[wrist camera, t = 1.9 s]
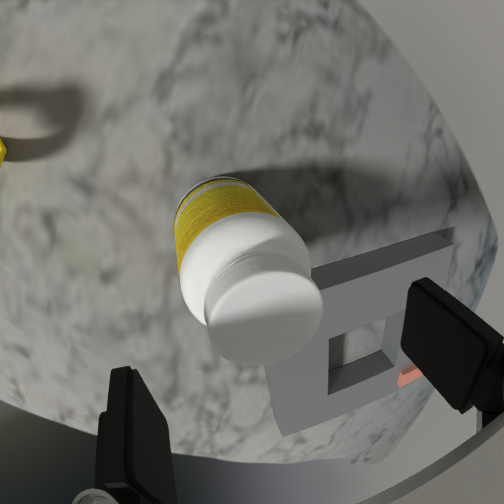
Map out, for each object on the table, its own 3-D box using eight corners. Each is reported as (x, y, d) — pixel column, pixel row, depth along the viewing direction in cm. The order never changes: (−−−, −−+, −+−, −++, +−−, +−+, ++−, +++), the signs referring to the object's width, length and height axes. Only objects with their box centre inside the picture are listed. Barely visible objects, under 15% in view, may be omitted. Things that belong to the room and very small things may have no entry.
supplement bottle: (154, 226, 18) (151, 338, 9) (218, 155, 17) (275, 209, 9) (221, 277, 21) (266, 396, 12) (281, 215, 20) (369, 304, 11)
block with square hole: (249, 286, 21) (262, 313, 19) (433, 231, 24) (458, 247, 21) (274, 417, 29) (284, 441, 26) (409, 362, 31) (424, 380, 29)
